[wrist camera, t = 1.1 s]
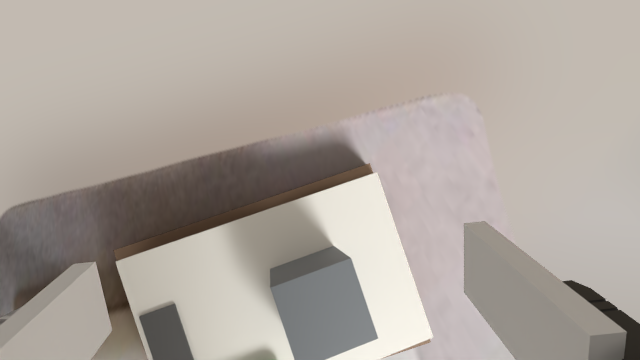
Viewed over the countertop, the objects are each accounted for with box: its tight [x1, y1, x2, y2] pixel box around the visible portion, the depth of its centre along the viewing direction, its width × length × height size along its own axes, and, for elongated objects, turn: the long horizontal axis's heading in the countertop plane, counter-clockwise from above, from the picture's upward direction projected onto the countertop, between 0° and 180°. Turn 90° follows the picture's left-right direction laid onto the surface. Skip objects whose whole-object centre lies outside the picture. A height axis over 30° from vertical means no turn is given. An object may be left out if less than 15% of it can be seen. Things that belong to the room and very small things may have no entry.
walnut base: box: [114, 163, 430, 359], centre depth 41 cm, size 18×26×3 cm
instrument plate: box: [115, 172, 433, 360], centre depth 33 cm, size 16×24×9 cm, turn 109°
